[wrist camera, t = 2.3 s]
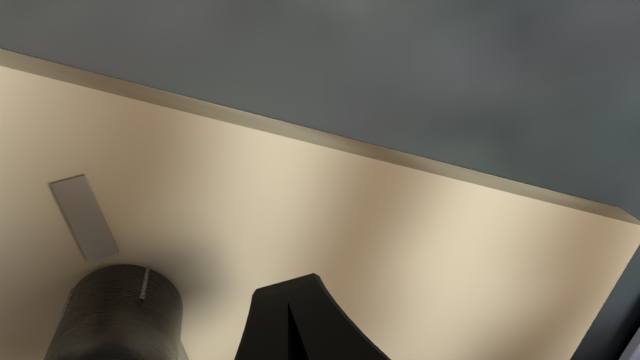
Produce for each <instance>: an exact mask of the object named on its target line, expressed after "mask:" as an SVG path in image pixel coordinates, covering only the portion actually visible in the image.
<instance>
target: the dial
mask: <svg viewBox="0 0 640 360" xmlns="http://www.w3.org/2000/svg"><path fill="white" fill-rule="evenodd" d="M182 318H183V304H182V299H181V296H180V294H179V292H178V290H177V289H176V287H175V286H174V285H173V284H172V283H171V282H170V281H169V280H168V279H167V278H166V277H165V276H163V275H161V274H160V273H158V272H156V271H154V270H152V269H150V267H147V268H146V267H143V266H138V265H130V264H120V265H112V266H107V267H104V268H101V269H98V270H96V271H94V272H92V273H90V274H89V275H87V276H85V277H84V278H83V279H82V280H81V281H80V282H79V283H78V284H77V285H76V286H75V287H74V288H72V289H71V291H70V293H69V296H68V298H67V300H66V303H65V305H64V308H63V310H62V312H61V315H60V317H59V319H58V326H57V329H56V331H55V333H54V336H53V338H52V341H51V343H50V345H49V348H48V350H47V353H46V355H45V357H44V360H189V358H188V356H187V354H186V351H185V349H184V347H183V344H182V342H181V340H180V339H181V328H182Z"/></svg>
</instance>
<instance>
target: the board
mask: <svg viewBox="0 0 640 360" xmlns="http://www.w3.org/2000/svg"><path fill="white" fill-rule="evenodd" d="M639 244H640V221H639V220H637V219H636V218H634V217H632V216H631V215H629V214H628V213H626V212H625V211H623V210H622V209H620V208H618V207H614V206H610V205H606V204H602V203H598V202H594V201H590V200H586V199H583V198H579V197H575V196H571V195H567V194H563V193H559V192H555V191H551V190H548V189H544V188H540V187H536V186H532V185H528V184H524V183H520V182H517V181H513V180H509V179H505V178H501V177H497V176H493V175H489V174H485V173H482V172H478V171H474V170H470V169H466V168H462V167H458V166H454V165H450V164H447V163H443V162H439V161H435V160H431V159H427V158H423V157H419V156H415V155H412V154H408V153H404V152H400V151H396V150H392V149H388V148H384V147H380V146H377V145H373V144H369V143H365V142H361V141H357V140H353V139H349V138H346V137H342V136H338V135H334V134H330V133H326V132H322V131H318V130H314V129H311V128H307V127H303V126H299V125H295V124H291V123H287V122H283V121H279V120H276V119H272V118H268V117H264V116H260V115H256V114H252V113H248V112H244V111H241V110H237V109H233V108H229V107H225V106H221V105H217V104H213V103H210V102H206V101H202V100H198V99H194V98H190V97H186V96H182V95H178V94H175V93H171V92H167V91H163V90H159V89H155V88H151V87H147V86H143V85H140V84H136V83H132V82H128V81H124V80H120V79H116V78H112V77H108V76H105V75H101V74H97V73H93V72H89V71H85V70H81V69H77V68H74V67H70V66H66V65H62V64H58V63H54V62H50V61H46V60H42V59H39V58H35V57H31V56H27V55H23V54H19V53H15V52H11V51H7V50H4V49H0V360H44V357H45V355H46V353H47V350H48V348H49V345H50V343H51V341H52V338H53V336H54V333H55V331H56V329H57V326H58V319H59V317H60V315H61V312H62V310H63V308H64V305H65V303H66V300H67V298H68V296H69V293H70V291H71V289H72V288H74V287H75V286H76V285H77V284H78V283H79V282H80V281H81V280H82V279H83V278H84V277H85V276H87V275H89V274H90V273H92V272H94V271H96V270H98V269H101V268H104V267H107V266H112V265H120V264H130V265H138V266H143V267H146V268H147V267H150V269H152V270H154V271H156V272H158V273H160V274H161V275H163V276H165V277H166V278H167V279H168V280H169V281H170V282H171V283H172V284H173V285H174V286H175V287H176V289H177V290H178V292H179V294H180V296H181V299H182V304H183V318H182V328H181V339H180V340H181V342H182V344H183V347H184V349H185V351H186V354H187V356H188V358H189V360H234V359H235V356H236V353H237V350H238V347H239V344H240V341H241V338H242V335H243V331H244V328H245V324H246V321H247V317H248V313H249V309H250V304H251V299H252V294H253V293H254V291H255V290H256V289H258V288H261V287H265V286H269V285H272V284H276V283H279V282H283V281H287V280H290V279H294V278H297V277H301V276H304V275H308V274H312V273H315V274H317V275H318V276H320V278H321V280H322V282H323V284H324V285H325V287H326V289H327V290H328V292H329V293H330V294H331V296H332V297H333V298H334V300H335V301H336V302H337V304H338V305H339V306H340V307H341V309H342V310H343V311H344V312H345V313H346V315H347V316H348V317H349V318H350V319H351V320H352V321H353V322H354V323H355V324H356V326H357V327H358V328H359V329H360V330H361V331H362V332H363V333H364V334H365V335H366V336H367V337H368V338H369V339H370V340H371V341H372V342H373V343H374V344H375V345H376V346H377V347H378V348H379V349H380V350H381V351H382V352H384V353H385V354H386V355H387V356H388V357H389V358H390V359H391V360H570V359H571V357H572V356H573V354H574V352H575V351H576V349H577V347H578V346H579V344H580V342H581V341H582V339H583V337H584V336H585V334H586V332H587V331H588V329H589V327H590V326H591V324H592V322H593V321H594V319H595V317H596V316H597V314H598V312H599V311H600V309H601V307H602V306H603V304H604V302H605V301H606V299H607V297H608V296H609V294H610V292H611V291H612V289H613V287H614V286H615V284H616V282H617V281H618V279H619V277H620V276H621V274H622V272H623V271H624V269H625V267H626V266H627V264H628V262H629V261H630V259H631V257H632V256H633V254H634V252H635V251H636V249H637V247H638V246H639Z"/></svg>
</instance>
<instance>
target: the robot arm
mask: <svg viewBox="0 0 640 360" xmlns="http://www.w3.org/2000/svg"><path fill="white" fill-rule="evenodd" d="M234 360H391V359H390V358H389V357H388V356H387V355H386V354H385V353H384V352H382V351H381V350H380V349H379V348H378V347H377V346H376V345H375V344H374V343H373V342H372V341H371V340H370V339H369V338H368V337H367V336H366V335H365V334H364V333H363V332H362V331H361V330H360V329H359V328H358V327H357V326H356V324H355V323H354V322H353V321H352V320H351V319H350V318H349V317H348V316H347V315H346V313H345V312H344V311H343V310H342V309H341V307H340V306H339V305H338V304H337V302H336V301H335V300H334V298H333V297H332V296H331V294H330V293H329V292H328V290H327V289H326V287H325V285H324V284H323V282H322V280H321V278H320V276H318V275H317V274H315V273H312V274H308V275H304V276H301V277H297V278H294V279H290V280H287V281H283V282H279V283H276V284H272V285H269V286H265V287H261V288H258V289H256V290H255V291H254V293H253V294H252V299H251V304H250V309H249V313H248V317H247V321H246V324H245V328H244V331H243V335H242V338H241V341H240V344H239V347H238V350H237V353H236V356H235V359H234ZM619 360H640V327H639V328H638V330H637V332H636V333H635V335H634V336H633V338H632V339H631V341H630V342H629V344H628V346H627V347H626V349H625V350H624V352H623V353H622V355H621V357H620V358H619Z"/></svg>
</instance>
